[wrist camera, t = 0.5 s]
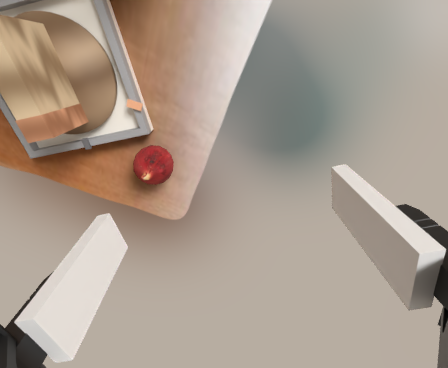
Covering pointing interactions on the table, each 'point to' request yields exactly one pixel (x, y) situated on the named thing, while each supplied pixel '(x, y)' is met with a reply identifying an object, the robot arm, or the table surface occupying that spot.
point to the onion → (153, 165)
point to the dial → (54, 75)
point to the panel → (126, 81)
